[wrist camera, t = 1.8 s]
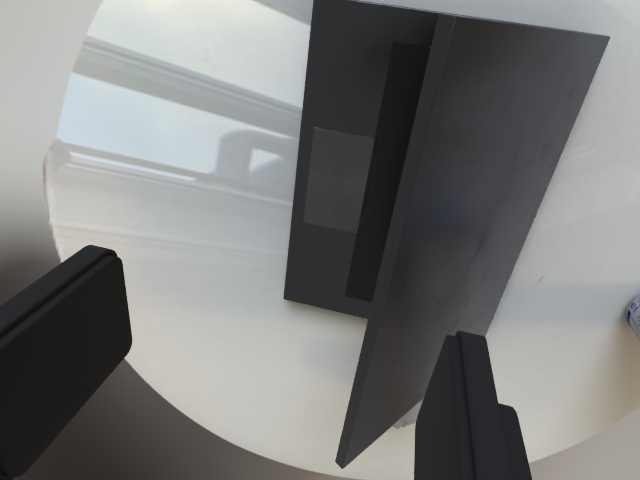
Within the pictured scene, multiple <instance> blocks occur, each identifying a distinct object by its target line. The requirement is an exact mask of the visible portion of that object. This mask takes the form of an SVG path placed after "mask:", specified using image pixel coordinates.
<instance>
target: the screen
mask: <svg viewBox="0 0 640 480" xmlns="http://www.w3.org/2000/svg"><path fill="white" fill-rule="evenodd" d="M609 39H610V36H604V35H597V34H590V33H582V32H575V31H567V30H560V29H552V28H545V27H537V26H530V25H523V24H515V23H508V22H500V21H493V20H485V19H478V18H470V17H463V16H455V15H448V14H439V16H438V21H437V25H436V29H435V34H434V38H433V42H432V47H431V51H430V55H429V60H428V64H427V68H426V73H425V77H424V81H423V86H422V90H421V94H420V98H419V103H418V107H417V111H416V116H415V120H414V124H413V129H412V133H411V137H410V142H409V146H408V150H407V155H406V159H405V163H404V168H403V172H402V176H401V180H400V185H399V189H398V193H397V198H396V202H395V206H394V211H393V215H392V219H391V224H390V228H389V232H388V237H387V241H386V245H385V249H384V254H383V258H382V262H381V267H380V271H379V275H378V280H377V284H376V288H375V293H374V297H373V301H372V306H371V310H370V314H369V319H368V323H367V327H366V331H365V336H364V340H363V344H362V349H361V353H360V357H359V362H358V366H357V370H356V375H355V379H354V383H353V388H352V392H351V396H350V400H349V405H348V409H347V413H346V418H345V422H344V426H343V431H342V435H341V439H340V444H339V448H338V452H337V457H336V461H335V462H336V463H337V464H338V465H339V466H340V467H341V468H342V469H343V468H345V467H346V466H347V465H348V464H349V463H350V462H351V461H352V460H354V459H355V458H356V457H357V456H358V455H359V454H360V453H362V452H363V451H364V450H365V449H366V448H367V447H368V446H370V445H371V444H372V443H373V442H374V441H375V440H376V439H378V438H379V437H380V436H381V435H382V434H383V433H384V432H386V431H387V430H388V429H389V428H390V427H391V426H392V425H393V424H395V423H396V422H397V421H398V420H399V419H400V418H401V417H403V416H404V415H405V414H406V413H407V412H408V411H409V410H411V409H412V408H413V407H414V406H415V405H416V404H417V403H419V402H420V401H421V400H422V399H423V398H424V396H425V393H426V390H427V387H428V385H429V382H430V379H431V376H432V373H433V371H434V368H435V365H436V362H437V359H438V357H439V354H440V351H441V348H442V345H443V343H444V340H445V337H446V336H447V335H452V336H455V334H456V332H457V331H459V330H460V331H464V332H468V333H473V334H477V335H481V336H484V337H485V335H486V333H487V330H488V328H489V326H490V323H491V321H492V319H493V316H494V314H495V311H496V309H497V307H498V304H499V302H500V299H501V297H502V295H503V292H504V290H505V287H506V285H507V283H508V280H509V278H510V276H511V273H512V271H513V268H514V266H515V264H516V261H517V259H518V256H519V254H520V252H521V249H522V247H523V244H524V242H525V240H526V237H527V235H528V233H529V230H530V228H531V225H532V223H533V221H534V218H535V216H536V213H537V211H538V209H539V206H540V204H541V202H542V199H543V197H544V194H545V192H546V190H547V187H548V185H549V182H550V180H551V178H552V175H553V173H554V170H555V168H556V166H557V163H558V161H559V159H560V156H561V154H562V151H563V149H564V147H565V144H566V142H567V139H568V137H569V135H570V132H571V130H572V127H573V125H574V123H575V120H576V118H577V116H578V113H579V111H580V108H581V106H582V104H583V101H584V99H585V96H586V94H587V92H588V89H589V87H590V85H591V82H592V80H593V77H594V75H595V73H596V70H597V68H598V65H599V63H600V61H601V58H602V56H603V53H604V51H605V49H606V46H607V44H608V42H609Z"/></svg>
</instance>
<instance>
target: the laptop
mask: <svg viewBox="0 0 640 480" xmlns="http://www.w3.org/2000/svg"><path fill="white" fill-rule="evenodd" d="M439 14H448V15H455V16H463V17H470V18H478V17H471V16H464V15H457V14H450V13H443V12H436V11H429V10H422V9H415V8H408V7H401V6H394V5H387V4H380V3H373V2H366V1H359V0H314V1H313V11H312V21H311V31H310V41H309V51H308V61H307V71H306V81H305V91H304V101H303V110H302V120H301V130H300V140H299V150H298V160H297V170H296V180H295V190H294V200H293V210H292V220H291V230H290V240H289V250H288V259H287V269H286V279H285V289H284V299H286V300H290V301H294V302H299V303H303V304H307V305H311V306H316V307H320V308H324V309H328V310H333V311H337V312H341V313H345V314H350V315H354V316H358V317H362V318H367V319H369V314H370V310H371V306H372V301H373V297H374V293H375V288H376V284H377V280H378V275H379V271H380V267H381V262H382V258H383V254H384V249H385V245H386V241H387V237H388V232H389V228H390V224H391V219H392V215H393V211H394V206H395V202H396V198H397V193H398V189H399V185H400V180H401V176H402V172H403V168H404V163H405V159H406V155H407V150H408V146H409V142H410V137H411V133H412V129H413V124H414V120H415V116H416V111H417V107H418V103H419V98H420V94H421V90H422V86H423V81H424V77H425V73H426V68H427V64H428V60H429V55H430V51H431V47H432V42H433V38H434V34H435V29H436V25H437V21H438V16H439ZM478 19H485V18H478ZM485 20H492V19H485ZM493 21H499V20H493ZM500 22H506V21H500ZM508 23H513V22H508ZM515 24H520V23H515ZM523 25H527V24H523ZM530 26H534V25H530ZM537 27H541V26H537ZM545 28H549V27H545ZM552 29H556V28H552ZM560 30H563V29H560ZM567 31H570V30H567ZM575 32H577V31H575ZM582 33H584V32H582ZM590 34H591V33H590Z"/></svg>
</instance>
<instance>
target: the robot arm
mask: <svg viewBox="0 0 640 480" xmlns="http://www.w3.org/2000/svg"><path fill="white" fill-rule="evenodd" d="M131 345H132V334H131V326H130V318H129V310H128V303H127V295H126V287H125V279H124V272H123V264H122V260H121V259H120V258H118V257H117V254H116V252H115V251H113V250H111V249H107V248H102V247H98V246H94V245H88V246H86V247H84V248H82V249H81V250H80V251H78V252H77V253H75V254H74V255H72V256H71V257H70V258H68V259H67V260H65V261H64V262H63V263H61V264H60V265H58V266H57V267H55V268H54V269H53V270H51V271H50V272H48V273H47V274H46V275H44V276H43V277H41V278H40V279H38V280H37V281H35V282H34V283H33V284H31V285H30V286H28V287H27V288H26V289H24V290H23V291H21V292H20V293H18V294H17V295H16V296H14V297H13V298H11V299H10V300H8V301H7V302H6V303H4V304H3V305H1V306H0V480H12V479H14V477H18V476H21V475H23V474H24V473H25V472H26V471H27V470H28V469H29V468H30V467H31V466H32V465H33V463H34V462H35V461H36V460H37V459H38V458H39V456H40V455H41V454H42V453H43V452H44V451H45V450H46V448H47V447H48V446H49V445H50V444H51V442H52V441H53V440H54V439H55V438H56V437H57V435H58V434H59V433H60V432H61V431H62V430H63V429H64V427H65V426H66V425H67V424H68V423H69V422H70V420H71V419H72V418H73V417H74V416H75V415H76V413H77V412H78V411H79V410H80V409H81V407H82V406H83V405H84V404H85V403H86V402H87V401H88V399H89V398H90V397H91V396H92V395H93V394H94V392H95V391H96V390H97V389H98V388H99V386H100V385H101V384H102V383H103V382H104V381H105V380H106V379H107V377H108V376H109V375H110V374H111V373H112V372H113V370H114V369H115V368H116V367H117V365H118V364H119V363H120V362H121V361H122V360H123V359H124V358H125V356H126V355H127V354H128V352H129V350H130V348H131ZM414 480H532V477H531V472H530V468H529V464H528V459H527V455H526V451H525V446H524V442H523V437H522V433H521V429H520V424H519V420H518V416H517V413H516V411H515V410H514V408H513V407H511V406H507V405H503V404H499V403H498V400H497V395H496V389H495V384H494V379H493V373H492V368H491V363H490V357H489V352H488V347H487V341H486V338H485V337H484V336H481V335H477V334H473V333H468V332H464V331H460V330H459V331H457V332H456V334H455V336H452V335H447V336H446V337H445V340H444V343H443V345H442V348H441V351H440V354H439V357H438V359H437V362H436V365H435V368H434V371H433V373H432V376H431V379H430V382H429V385H428V387H427V390H426V393H425V396H424V399H423V401H422V404H421V407H420V410H419V413H418V416H417V420H416V428H415V466H414Z"/></svg>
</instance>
